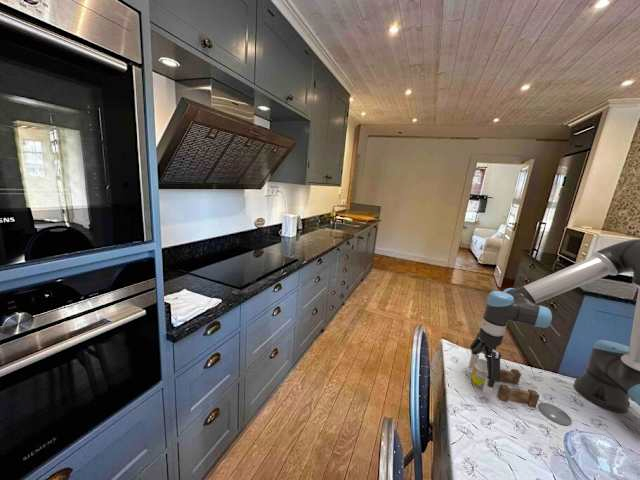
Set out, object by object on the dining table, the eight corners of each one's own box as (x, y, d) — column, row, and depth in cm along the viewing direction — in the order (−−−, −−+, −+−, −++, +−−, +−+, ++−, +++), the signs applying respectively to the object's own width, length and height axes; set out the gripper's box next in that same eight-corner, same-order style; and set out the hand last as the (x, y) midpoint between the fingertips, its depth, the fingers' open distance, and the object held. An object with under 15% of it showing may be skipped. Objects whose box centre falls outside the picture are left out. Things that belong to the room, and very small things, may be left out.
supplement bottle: (473, 377, 108) (479, 355, 106) (488, 386, 104) (494, 363, 102) (467, 382, 105) (473, 360, 103) (482, 392, 101) (489, 368, 98)
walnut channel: (514, 380, 109) (517, 369, 108) (535, 407, 96) (539, 395, 94) (483, 375, 110) (486, 364, 109) (500, 400, 97) (503, 388, 96)
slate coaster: (558, 406, 97) (559, 405, 97) (578, 428, 88) (578, 426, 88) (532, 401, 98) (532, 400, 98) (548, 422, 90) (549, 421, 89)
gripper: (468, 314, 112) (457, 357, 117) (497, 349, 88) (482, 402, 92) (487, 317, 111) (475, 361, 116) (521, 353, 87) (505, 406, 91)
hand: (478, 379), depth 104 cm, fingers open, 13 cm apart
